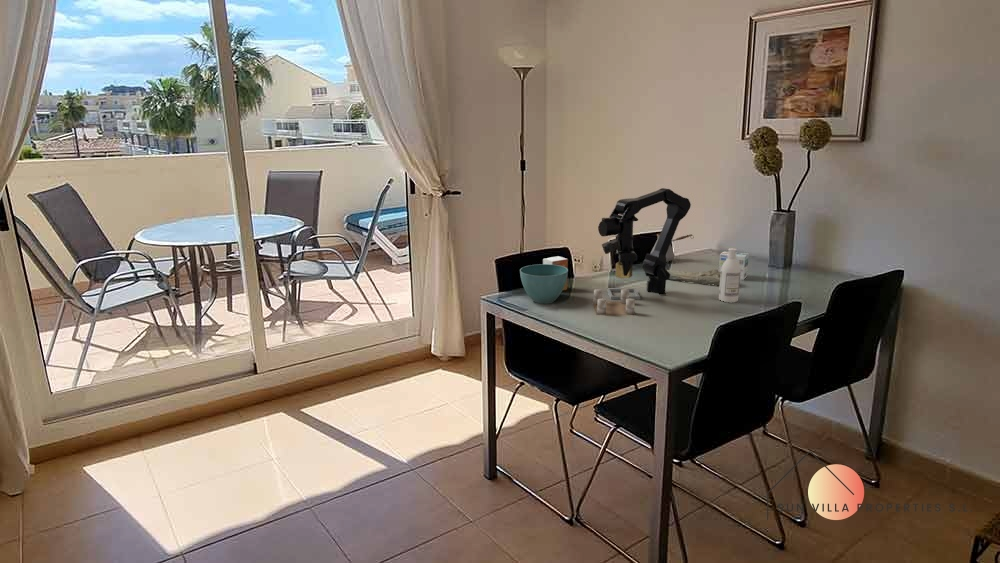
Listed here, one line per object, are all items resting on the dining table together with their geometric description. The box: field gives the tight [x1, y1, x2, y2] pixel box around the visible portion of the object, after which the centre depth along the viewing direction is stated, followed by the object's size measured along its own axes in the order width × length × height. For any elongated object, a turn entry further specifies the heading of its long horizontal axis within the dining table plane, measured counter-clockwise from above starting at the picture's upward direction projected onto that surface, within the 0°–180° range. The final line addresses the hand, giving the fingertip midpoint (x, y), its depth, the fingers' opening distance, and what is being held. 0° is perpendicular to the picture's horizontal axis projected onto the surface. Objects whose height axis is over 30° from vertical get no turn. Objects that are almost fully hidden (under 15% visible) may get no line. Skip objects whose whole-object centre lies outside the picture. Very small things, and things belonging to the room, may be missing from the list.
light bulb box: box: [718, 251, 749, 280], centre depth 266 cm, size 11×7×11 cm, turn 58°
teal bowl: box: [519, 263, 569, 304], centre depth 237 cm, size 18×18×12 cm
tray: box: [606, 287, 641, 301], centre depth 241 cm, size 11×11×2 cm
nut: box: [615, 261, 634, 279], centre depth 237 cm, size 6×6×5 cm
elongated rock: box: [666, 269, 721, 286], centre depth 263 cm, size 35×5×10 cm
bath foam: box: [718, 247, 741, 303], centre depth 233 cm, size 7×7×20 cm
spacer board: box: [591, 288, 637, 316], centre depth 225 cm, size 14×16×6 cm
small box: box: [542, 255, 569, 291], centre depth 251 cm, size 8×6×13 cm
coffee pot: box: [649, 233, 694, 263], centre depth 293 cm, size 21×12×15 cm, turn 42°
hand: (624, 273), depth 237 cm, fingers closed on nut, 5 cm apart
